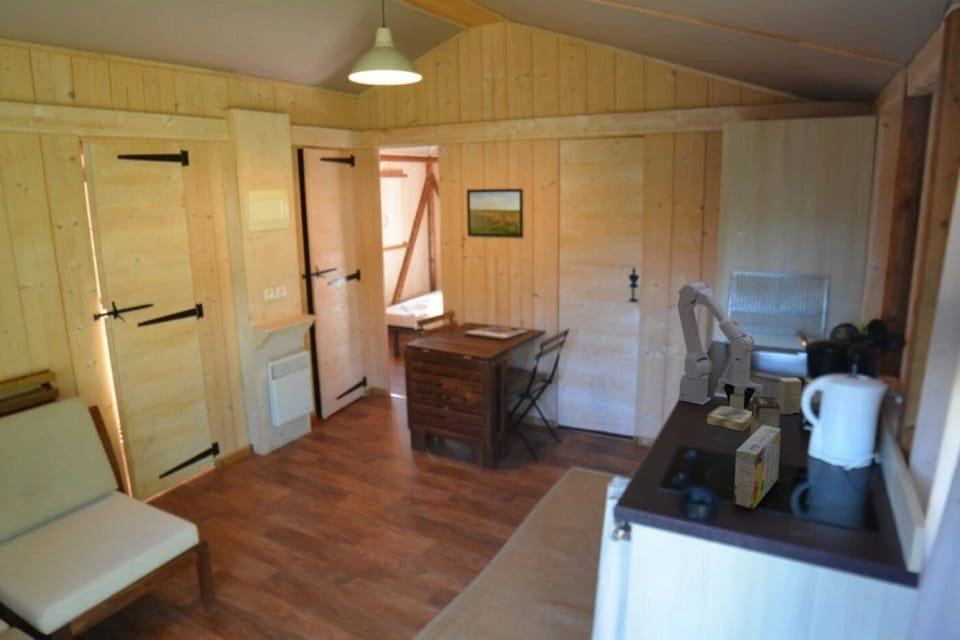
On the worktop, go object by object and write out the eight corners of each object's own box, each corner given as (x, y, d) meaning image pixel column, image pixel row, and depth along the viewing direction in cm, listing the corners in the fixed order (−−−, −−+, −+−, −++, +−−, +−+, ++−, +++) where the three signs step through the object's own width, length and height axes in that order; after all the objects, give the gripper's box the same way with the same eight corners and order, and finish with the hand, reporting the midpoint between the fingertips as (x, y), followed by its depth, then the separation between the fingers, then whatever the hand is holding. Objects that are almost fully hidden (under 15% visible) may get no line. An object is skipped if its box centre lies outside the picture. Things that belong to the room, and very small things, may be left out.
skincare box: (794, 410, 232) (797, 377, 230) (799, 414, 228) (802, 381, 225) (776, 409, 233) (778, 377, 230) (780, 414, 229) (783, 380, 226)
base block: (707, 423, 222) (707, 414, 221) (720, 413, 231) (721, 404, 230) (743, 431, 214) (743, 422, 214) (755, 420, 223) (756, 412, 222)
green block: (729, 411, 233) (730, 395, 231) (733, 407, 236) (735, 391, 235) (742, 414, 230) (743, 397, 228) (747, 410, 233) (748, 394, 232)
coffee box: (748, 444, 204) (751, 395, 201) (770, 446, 203) (774, 396, 199) (754, 457, 195) (758, 405, 192) (777, 458, 194) (781, 406, 191)
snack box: (757, 474, 184) (761, 423, 181) (778, 479, 181) (783, 428, 178) (731, 504, 168) (735, 449, 165) (754, 510, 165) (758, 454, 162)
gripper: (715, 368, 231) (713, 405, 234) (758, 376, 222) (755, 414, 225) (723, 364, 236) (721, 400, 239) (765, 371, 227) (762, 408, 230)
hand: (738, 406), depth 232 cm, fingers closed on green block, 5 cm apart
